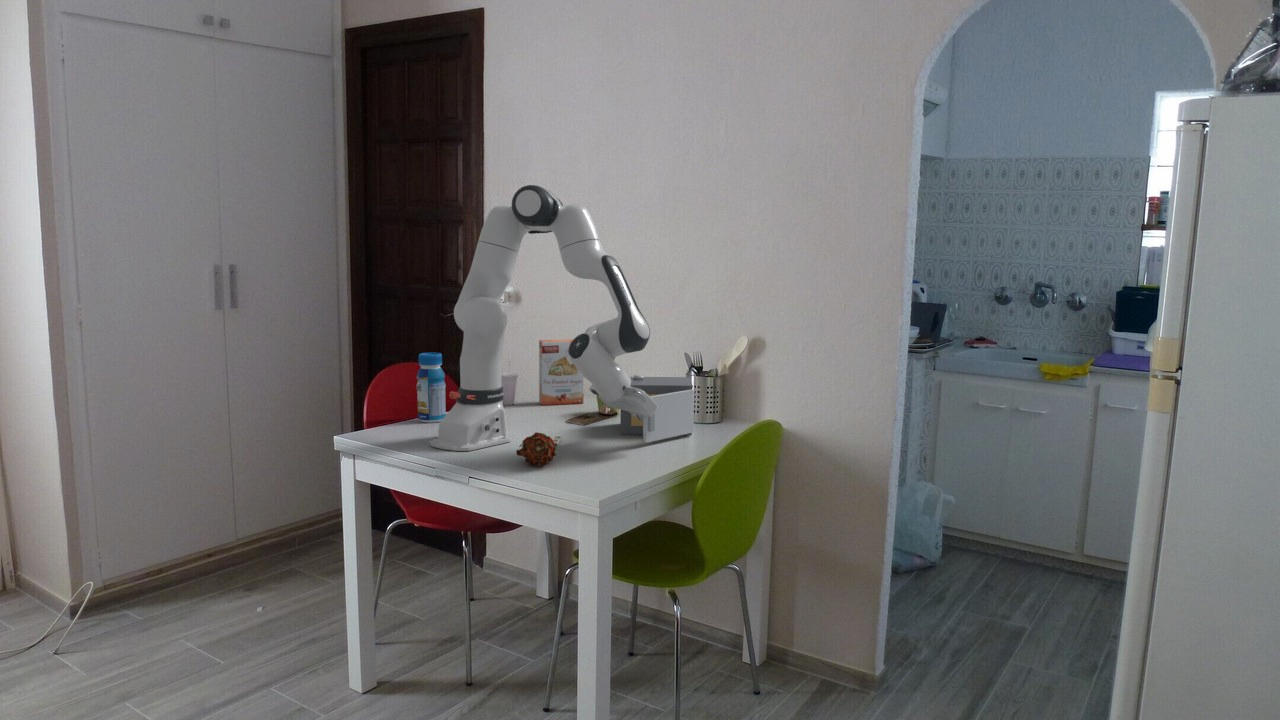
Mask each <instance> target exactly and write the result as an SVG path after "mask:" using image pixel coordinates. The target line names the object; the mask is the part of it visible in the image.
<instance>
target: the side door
mask: <svg viewBox="0 0 1280 720" xmlns="http://www.w3.org/2000/svg"><path fill="white" fill-rule="evenodd" d="M649 397H650V398H651V399H652V400H653V401H654V402H655V403H656V404H657V406H658V409H657V410H656V412H655V413H654V414H653V415H652V416H651V417H648V416H644V415H643V434H642V442H643V443H652V442H656V441H661V440H665V439H669V438H673V437H678V436H683V435H684V434H689V433H692V434H693V433H694V422H695V421H694V416H695V415H694V414H695V413H694V412H695V410H694V409H695V406H694V405H695V402H694V401H695V389H693V390H685V391H679V392H673V393H667V394H661V395H655V396H649ZM684 436H685V435H684Z"/></svg>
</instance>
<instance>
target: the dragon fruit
mask: <svg viewBox="0 0 1280 720" xmlns="http://www.w3.org/2000/svg"><path fill="white" fill-rule="evenodd" d="M518 448H519V449H516V451H515V453H516V455H517V456H518V457H524V462H525V463H526V464H527V465H529V464H532V465H534V466H537V467H544V466H545V465H546V464H547V463H551V462H552V461H553V460H554V457H555V456H557V451H556V450H557V449H556V446H555V442H554V440H553V438H552V437H551V436H550V435H548V436H547V435H546V434H545V433H542V432H534V433H533V434H532V435H530V436H526V437H525V438H524V439H523V440H522V441H521V444H520V445H519V446H518ZM543 465H544V466H543Z"/></svg>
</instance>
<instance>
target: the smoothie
mask: <svg viewBox="0 0 1280 720" xmlns="http://www.w3.org/2000/svg"><path fill="white" fill-rule="evenodd" d="M511 370H512V365H511V361H510V360H509V361H508V372H504V373H502V372H501V386H502V387H503V392H504V394H503V400H502V404H503V406H504V405H506V406H511V405H512V404H513V405H515V402H516V393H517V392H516V391H517V383H518V379H519V373H514V372H512V371H511ZM513 405H512V406H513Z"/></svg>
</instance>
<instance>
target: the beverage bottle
mask: <svg viewBox="0 0 1280 720" xmlns="http://www.w3.org/2000/svg"><path fill="white" fill-rule="evenodd" d="M442 364H443V354H442V353H441V352H422V353H419V354H418V365H419V366H420V368H419V369H418V372H417V374H416V379H417V383H416V386H415V387H416V393H417V394H416V395H417V396H416V398H417V400H416V401H417V420H418V421H419V422H421V423H430V424H431V423H432V424H433V423H440V422H441V420H442V419H443V418H444V417H445V416H446V415H447V413H446V412H447V411H446V387H447V386H446V382H445V378H446V375H445V372H444V370H443V368H442V367H441V366H442Z"/></svg>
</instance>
